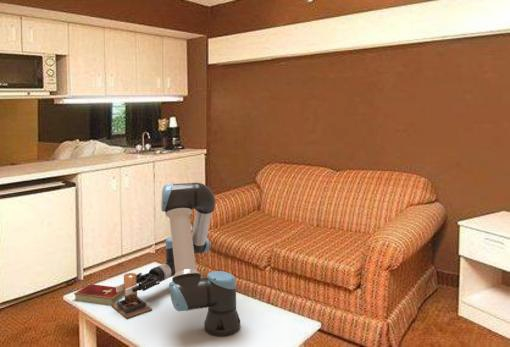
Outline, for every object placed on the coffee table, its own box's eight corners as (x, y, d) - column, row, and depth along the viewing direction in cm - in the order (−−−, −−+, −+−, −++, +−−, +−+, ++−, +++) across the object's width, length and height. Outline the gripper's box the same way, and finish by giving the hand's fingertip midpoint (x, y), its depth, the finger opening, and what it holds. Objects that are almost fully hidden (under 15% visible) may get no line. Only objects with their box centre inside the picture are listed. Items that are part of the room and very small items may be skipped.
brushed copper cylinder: (139, 300, 194) (138, 275, 192) (128, 304, 191) (126, 278, 189) (134, 296, 198) (132, 272, 196) (122, 300, 195) (121, 275, 193)
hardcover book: (90, 290, 215) (89, 283, 214) (127, 295, 210) (126, 287, 209) (74, 301, 203) (73, 293, 203) (113, 306, 198) (112, 298, 197)
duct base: (151, 310, 193) (151, 304, 192) (126, 319, 185) (126, 312, 185) (135, 298, 205) (135, 292, 204) (111, 306, 197) (111, 300, 197)
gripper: (173, 285, 204) (135, 304, 185) (146, 276, 214) (108, 293, 195) (173, 270, 203) (134, 287, 184) (146, 262, 213) (107, 278, 194)
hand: (121, 290), depth 189 cm, fingers closed on brushed copper cylinder, 5 cm apart
